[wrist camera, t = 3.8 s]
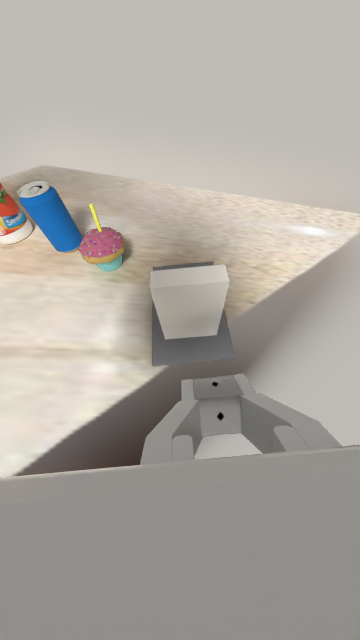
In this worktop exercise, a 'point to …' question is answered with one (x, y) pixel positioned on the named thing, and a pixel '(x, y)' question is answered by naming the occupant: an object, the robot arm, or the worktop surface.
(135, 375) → the worktop surface
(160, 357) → the mat
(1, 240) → the fruit juice
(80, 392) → the worktop surface
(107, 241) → the cupcake
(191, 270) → the tile
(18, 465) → the worktop surface
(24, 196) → the beverage can
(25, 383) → the worktop surface
